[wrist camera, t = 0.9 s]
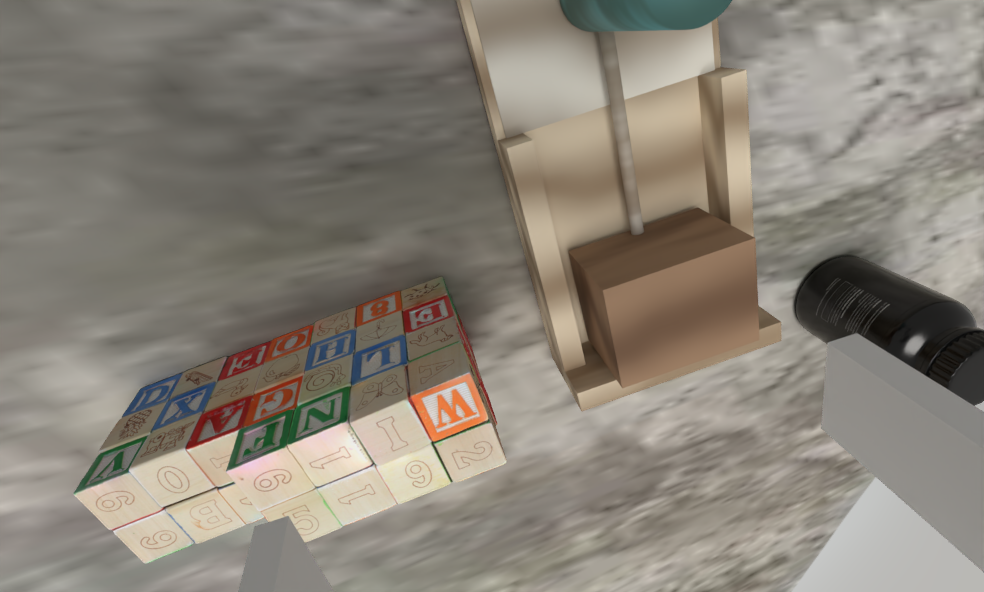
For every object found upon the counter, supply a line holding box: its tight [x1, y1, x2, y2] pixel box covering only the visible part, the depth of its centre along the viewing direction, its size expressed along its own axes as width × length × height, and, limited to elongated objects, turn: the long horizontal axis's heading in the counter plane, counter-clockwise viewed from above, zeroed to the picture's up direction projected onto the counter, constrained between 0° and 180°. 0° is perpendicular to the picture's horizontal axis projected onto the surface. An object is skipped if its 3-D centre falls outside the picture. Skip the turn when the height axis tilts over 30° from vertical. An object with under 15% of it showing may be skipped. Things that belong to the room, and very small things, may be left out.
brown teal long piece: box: [560, 0, 760, 388], centre depth 28 cm, size 23×9×10 cm, turn 16°
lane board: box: [456, 0, 781, 411], centre depth 32 cm, size 26×14×6 cm, turn 16°
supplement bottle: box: [796, 256, 984, 406], centre depth 38 cm, size 7×7×12 cm
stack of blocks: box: [74, 277, 507, 563], centre depth 32 cm, size 21×6×12 cm, turn 108°
